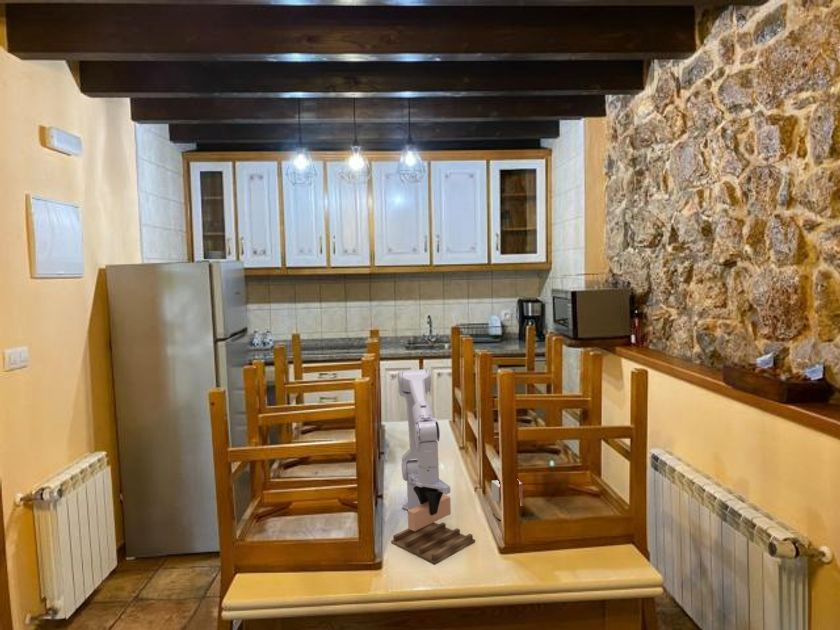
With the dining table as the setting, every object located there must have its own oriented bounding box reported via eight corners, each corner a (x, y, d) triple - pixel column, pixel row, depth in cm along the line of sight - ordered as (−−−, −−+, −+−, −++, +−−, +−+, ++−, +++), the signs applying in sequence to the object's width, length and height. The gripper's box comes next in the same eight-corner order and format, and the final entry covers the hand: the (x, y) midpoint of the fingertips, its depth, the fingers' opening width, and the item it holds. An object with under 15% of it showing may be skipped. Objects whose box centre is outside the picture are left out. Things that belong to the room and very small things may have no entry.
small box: (498, 521, 168) (498, 487, 167) (491, 513, 173) (490, 480, 172) (523, 517, 170) (522, 483, 169) (515, 509, 175) (514, 476, 174)
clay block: (444, 511, 162) (443, 494, 162) (450, 514, 161) (450, 497, 160) (408, 528, 153) (407, 510, 152) (414, 531, 151) (414, 513, 150)
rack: (431, 523, 168) (431, 516, 168) (475, 541, 156) (475, 534, 156) (391, 542, 157) (390, 535, 157) (434, 564, 145) (434, 556, 145)
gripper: (399, 462, 158) (401, 509, 159) (436, 475, 147) (438, 525, 148) (417, 455, 163) (419, 501, 164) (455, 467, 152) (456, 516, 153)
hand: (429, 512), depth 156 cm, fingers closed on clay block, 2 cm apart
